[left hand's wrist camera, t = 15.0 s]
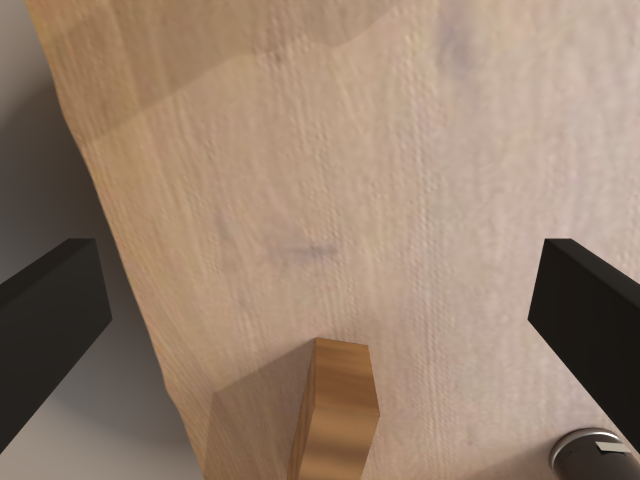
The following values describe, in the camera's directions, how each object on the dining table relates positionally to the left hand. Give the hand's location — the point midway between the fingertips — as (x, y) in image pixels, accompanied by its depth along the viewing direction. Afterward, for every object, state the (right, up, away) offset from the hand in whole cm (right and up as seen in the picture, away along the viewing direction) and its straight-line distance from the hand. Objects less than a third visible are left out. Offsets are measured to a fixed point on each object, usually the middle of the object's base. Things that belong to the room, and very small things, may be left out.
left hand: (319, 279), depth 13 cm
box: (+1, -20, +40) cm, 45 cm away
